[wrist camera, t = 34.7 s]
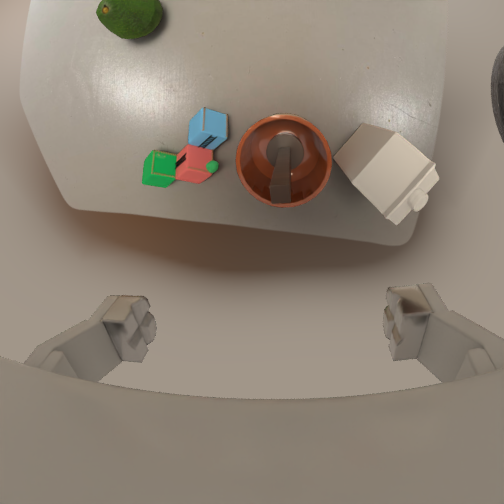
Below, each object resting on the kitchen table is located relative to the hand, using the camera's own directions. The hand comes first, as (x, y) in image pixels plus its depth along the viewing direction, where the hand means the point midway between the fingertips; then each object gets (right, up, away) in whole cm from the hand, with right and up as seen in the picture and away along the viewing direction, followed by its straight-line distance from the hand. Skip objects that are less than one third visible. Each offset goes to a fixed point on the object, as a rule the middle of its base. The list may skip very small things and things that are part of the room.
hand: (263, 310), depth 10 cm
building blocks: (-10, +18, +34) cm, 40 cm away
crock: (+4, +17, +33) cm, 37 cm away
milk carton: (+16, +16, +32) cm, 39 cm away
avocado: (-16, +37, +25) cm, 48 cm away
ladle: (+4, +16, +32) cm, 36 cm away
